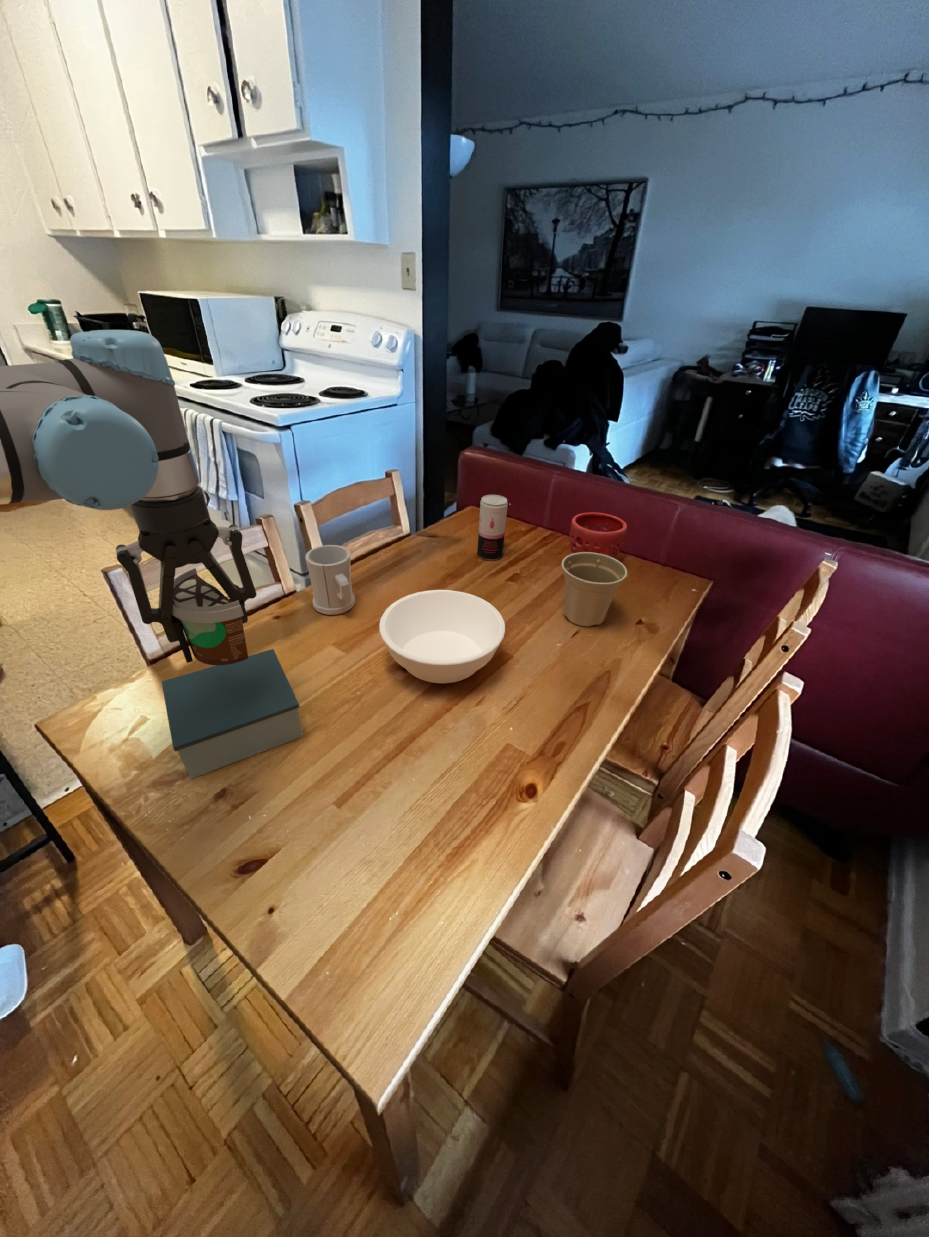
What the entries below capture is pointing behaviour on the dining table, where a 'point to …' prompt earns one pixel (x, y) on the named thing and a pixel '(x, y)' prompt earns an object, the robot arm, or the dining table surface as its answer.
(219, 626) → the food container
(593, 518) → the flower pot
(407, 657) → the bowl
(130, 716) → the dining table surface
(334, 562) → the cup
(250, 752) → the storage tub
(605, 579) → the flower pot
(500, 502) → the beverage can
